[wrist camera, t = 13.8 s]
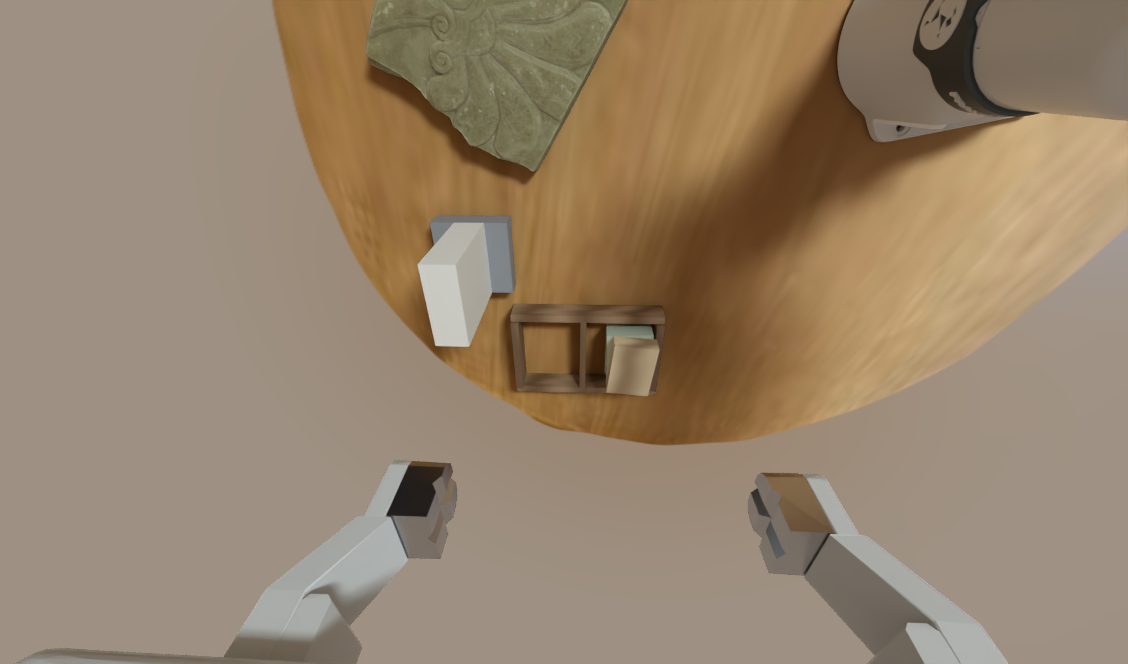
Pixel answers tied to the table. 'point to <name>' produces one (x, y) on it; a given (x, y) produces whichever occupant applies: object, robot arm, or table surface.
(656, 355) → the offcut top
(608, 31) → the decorative tile
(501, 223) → the slate plinth
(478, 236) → the tall white box
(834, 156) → the table surface
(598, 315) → the walnut rack
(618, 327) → the block
